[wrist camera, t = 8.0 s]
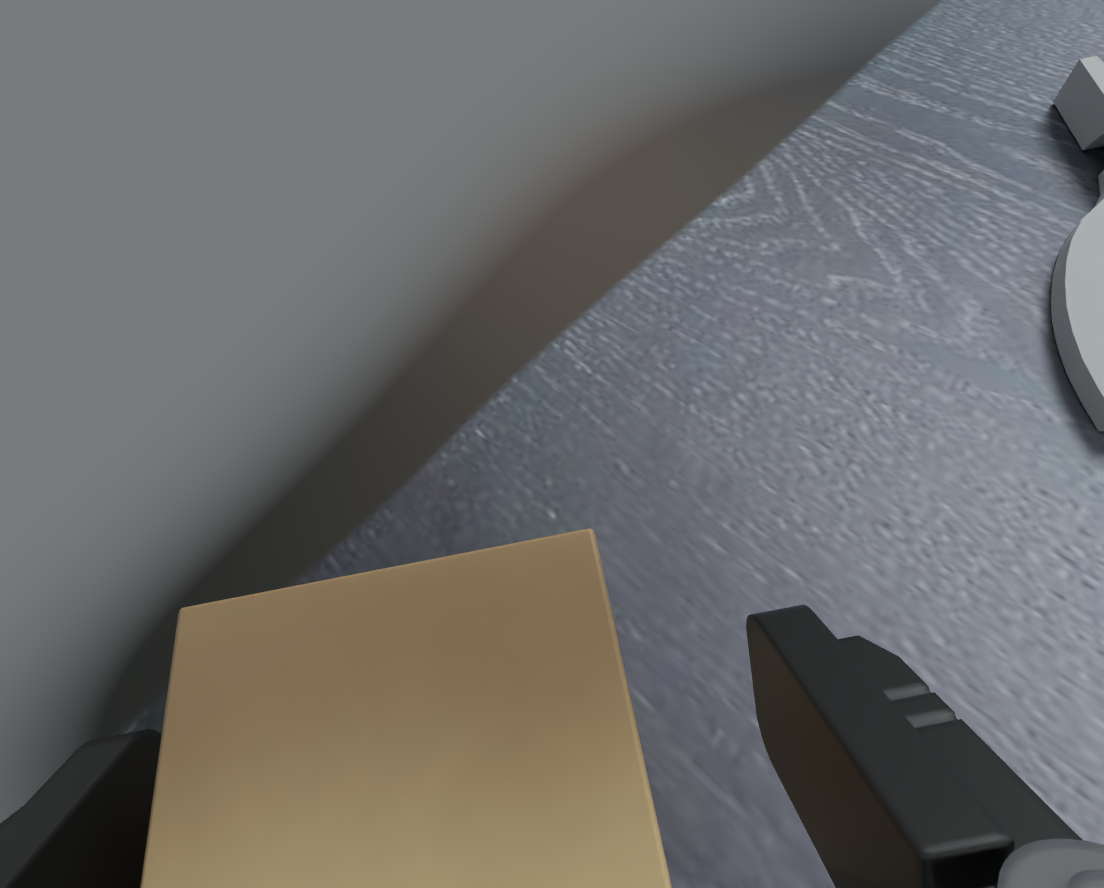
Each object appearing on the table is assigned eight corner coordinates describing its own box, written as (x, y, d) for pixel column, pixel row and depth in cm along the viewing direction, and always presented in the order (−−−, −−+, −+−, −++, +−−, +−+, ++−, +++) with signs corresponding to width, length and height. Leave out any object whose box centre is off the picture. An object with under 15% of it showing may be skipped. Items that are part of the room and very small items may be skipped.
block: (654, 897, 13) (721, 1121, 4) (447, 938, 13) (85, 1244, 4) (609, 678, 15) (593, 526, 6) (433, 712, 15) (176, 607, 6)
